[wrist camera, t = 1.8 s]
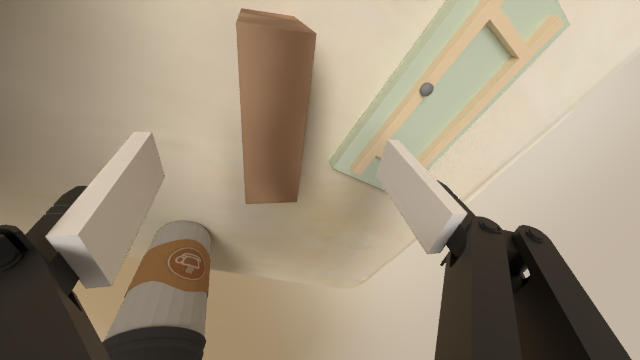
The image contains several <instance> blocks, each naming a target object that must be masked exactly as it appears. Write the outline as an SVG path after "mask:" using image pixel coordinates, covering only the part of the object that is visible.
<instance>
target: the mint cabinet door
mask: <svg viewBox="0 0 640 360" xmlns="http://www.w3.org/2000/svg"><path fill="white" fill-rule="evenodd" d="M569 25H570V23H569V22H568V20H567V18H566V16H565V14H564V12H563V10H562V8H561V6H560V4H559V2H558V0H446V2H445V3H444V4H443V6H442V7H441V9H440V10H439V11H438V13H437V14H436V15H435V17H434V18H433V20H432V21H431V22H430V24H429V25H428V26H427V28H426V29H425V31H424V32H423V33H422V35H421V36H420V37H419V39H418V40H417V42H416V43H415V44H414V46H413V47H412V48H411V50H410V51H409V52H408V54H407V55H406V57H405V58H404V59H403V61H402V62H401V63H400V65H399V66H398V68H397V69H396V70H395V72H394V73H393V74H392V76H391V77H390V79H389V80H388V81H387V83H386V84H385V85H384V87H383V88H382V90H381V91H380V92H379V94H378V95H377V96H376V98H375V99H374V100H373V102H372V103H371V105H370V106H369V107H368V109H367V110H366V111H365V113H364V114H363V116H362V117H361V118H360V120H359V121H358V122H357V124H356V125H355V127H354V128H353V129H352V131H351V132H350V133H349V135H348V136H347V138H346V139H345V140H344V142H343V143H342V144H341V146H340V147H339V149H338V150H337V151H336V153H335V154H334V155H333V157H332V158H331V159H330V164H331V166H332V168H333V169H336V170H338V171H340V172H343V173H345V174H347V175H350V176H352V177H354V178H357V179H359V180H361V181H363V182H366V183H368V184H370V185H373V186H375V187H377V188H380V189H382V190H384V191H386V190H385V188H384V187H383V185H382V184H381V182H380V181H379V179H378V178H377V176H376V173H377V170H378V167H379V164H380V161H381V158H382V155H383V152H384V149H385V146H386V143H387V140H399V141H400V142H401V143H402V144H403V145H404V146H405V148H406V149H407V150H408V151H409V152H410V153H411V154H412V155H413V156H414V157H415V158H416V159H417V160H418V161H419V162H420V163H421V165H422V166H423V167H424V168H425V169H426V170H427V171H428V170H429V169H430V167H431V166H432V165H433V164H434V163H435V162H436V161H437V160H438V159H439V158H440V157H441V156H442V155H443V154H444V153H445V152H446V151H447V150H448V149H449V148H450V147H451V146H452V145H453V144H454V143H455V142H456V141H457V140H458V139H459V138H460V137H461V136H462V135H463V134H464V133H465V132H466V131H467V130H468V129H469V128H470V127H471V126H472V125H473V124H474V123H475V121H476V120H477V119H478V118H479V117H480V116H481V115H482V114H483V113H484V112H485V111H486V110H487V109H488V108H489V107H490V106H491V105H492V104H493V103H494V102H495V101H496V100H497V99H498V98H499V97H500V96H501V95H502V94H503V93H504V92H505V91H506V90H507V89H508V88H509V87H510V86H511V85H512V84H513V83H514V82H515V81H516V80H517V79H518V78H519V77H520V75H521V74H522V73H523V72H524V71H525V70H526V69H527V68H528V67H529V66H530V65H531V64H532V63H533V62H534V61H535V60H536V59H537V58H538V57H539V56H540V55H541V54H542V53H543V52H544V51H545V50H546V49H547V48H548V47H549V46H550V45H551V44H552V43H553V42H554V41H555V40H556V39H557V38H558V37H559V36H560V35H561V34H562V33H563V32H564V31H565V29H566V28H567V27H568V26H569Z"/></svg>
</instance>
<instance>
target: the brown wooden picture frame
mask: <svg viewBox="0 0 640 360" xmlns="http://www.w3.org/2000/svg"><path fill="white" fill-rule="evenodd" d="M236 28H237V47H238V66H239V85H240V104H241V123H242V141H243V160H244V179H245V198H246V204H262V203H284V202H297V197H298V188H299V179H300V171H301V162H302V153H303V145H304V136H305V128H306V119H307V110H308V102H309V93H310V84H311V76H312V67H313V59H314V50H315V41H316V33H315V32H314V31H312V30H311V29H310V28H308V27H307V26H306V25H304V24H303V23H302V22H300V21H299V20H298V19H296V18H295V17H294V16H288V15H281V14H275V13H268V12H262V11H255V10H249V9H242V8H241V11H240V14H239V16H238V19H237V22H236Z"/></svg>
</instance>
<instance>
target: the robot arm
mask: <svg viewBox="0 0 640 360" xmlns="http://www.w3.org/2000/svg"><path fill="white" fill-rule="evenodd" d="M376 176H377V178H378V179H379V181H380V182H381V184H382V185H383V187H384V188H385V190H386V192H387V193H388V195H389V196H390V198H391V199H392V201H393V202H394V204H395V205H396V207H397V209H398V210H399V212H400V213H401V215H402V216H403V218H404V219H405V221H406V223H407V224H408V226H409V227H410V229H411V230H412V232H413V233H414V235H415V236H416V238H417V240H418V241H419V243H420V244H421V246H422V247H423V249H424V250H425V252H426V253H427V254H435V253H440V252H441V251H442V250H443V248H444V247H445V245H447V247H448V248H449V250H450V251H449V253H448V254H447V255H446V257H445V258H444V260H443V261H442V263H441V264H440V265H441V266H443V265H444V263H446V268H445V276H444V284H443V293H442V301H441V309H440V318H439V327H438V335H437V343H436V352H435V360H631V358H630V357H629V355H628V354H627V352H626V351H625V349H624V348H623V346H622V345H621V343H620V342H619V340H618V339H617V337H616V336H615V335H614V333H613V332H612V330H611V329H610V327H609V326H608V324H607V323H606V321H605V320H604V318H603V317H602V315H601V314H600V312H599V311H598V310H597V308H596V306H595V305H594V304H593V302H592V301H591V299H590V298H589V296H588V295H587V293H586V292H585V290H584V289H583V287H582V286H581V284H580V283H579V281H578V280H577V278H576V277H575V275H574V274H573V273H572V271H571V270H570V268H569V267H568V265H567V264H566V262H565V261H564V259H563V258H562V256H561V255H560V254H559V252H558V250H557V249H556V247H555V246H554V245H553V243H552V242H551V240H550V239H549V238H548V237H547V236H546V235H545V234H543V233H542V232H541V231H540V230H538V229H536V228H533V227H530V226H526V225H522V226H519V227H518V228H517V229H516V230H515V232H511V231H506V230H502V229H501V228H500V226H499V225H498V224H496V223H495V222H493V221H492V220H490V219H487V218H484V217H476V216H475V215H474V214H473V213H472V212H471V211H470V210H469V209H468V208H467V206H466V205H465V204H464V203H463V202H462V201H461V200H460V199H458V197H457V196H456V195H455V194H453V192H452V191H451V190H450V189H449V188H448V187H447V186H446V185H444V184H443V183H441V182H440V181H438V180H436V179H435V178H434V177H433V176H432V175H431V174H430V173H429V172H428V171H427V170H426V169H425V168H424V167H423V166H422V165H421V163H420V162H419V161H418V160H417V159H416V158H415V157H414V156H413V155H412V154H411V153H410V152H409V151H408V150H407V149H406V148H405V146H404V145H403V144H402V143H401V142H400V141H399V140H387V143H386V146H385V149H384V152H383V155H382V158H381V161H380V164H379V167H378V170H377V173H376ZM164 177H165V175H164V172H163V168H162V165H161V162H160V158H159V155H158V151H157V148H156V144H155V141H154V137H153V134H152V132H133V134H132V135H131V136H130V137H129V138H128V140H127V141H126V142H125V143H124V144H123V145H122V147H121V148H120V149H119V150H118V151H117V153H116V154H115V155H114V156H113V157H112V158H111V160H110V161H109V162H108V163H107V164H106V165H105V167H104V168H103V169H102V170H101V171H100V173H99V174H98V175H97V176H96V177H95V178H94V180H93V181H92V182H91V183H90V184H89V185H88V186H77V187H75V188H73V189H72V190H70V191H68V192H67V193H65V194H63V195H62V196H61V197H60V198H59V199H58V201H57V202H56V203H55V204H54V207H51V208H50V209H49V210H48V211H47V212H46V215H44V216H43V217H42V218H41V219H40V220H39V221H38V222H37V223H36V224H35V225H34V226H33V227H32V228H31V229H30V230H29V232H28V233H27V234H26V235H24V234H23V232H22V231H21V230H20V229H18V228H17V227H16V226H10V225H1V226H0V360H111V359H110V357H109V355H108V353H107V351H106V350H105V348H104V346H103V344H102V342H101V340H100V338H99V337H98V335H97V333H96V331H95V329H94V327H93V325H92V324H91V322H90V320H89V318H88V316H87V315H86V313H85V311H84V309H83V307H82V305H81V303H80V302H79V300H78V298H77V296H76V294H75V293H74V292H73V291H72V290H73V288H74V286H75V285H76V283H77V281H78V280H80V282H81V283H82V284H83V285H84V287H85V288H86V289H87V288H96V287H106V286H112V284H113V282H114V280H115V278H116V276H117V274H118V272H119V270H120V268H121V266H122V264H123V262H124V259H125V258H126V256H127V253H128V251H129V249H130V247H131V245H132V243H133V241H134V239H135V237H136V235H137V233H138V231H139V229H140V227H141V225H142V222H143V220H144V218H145V216H146V214H147V212H148V210H149V208H150V206H151V204H152V202H153V200H154V198H155V196H156V194H157V191H158V189H159V187H160V185H161V183H162V181H163V179H164ZM526 269H528V270H529V272H530V276H529V277H527V278H525V276H524V274H523V272H524V271H525V270H526Z"/></svg>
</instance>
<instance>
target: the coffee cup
mask: <svg viewBox="0 0 640 360" xmlns="http://www.w3.org/2000/svg"><path fill="white" fill-rule="evenodd" d="M210 248H211V238H210V235H209V233H208V231H207V230H206V229H205V228H204V227H203V226H201V225H199V224H197V223H194V222H190V221H176V222H171V223H169V224H167V225H165V226H164V227H162V228H161V229H160V230H159V231H157V233H156V235H155V237H154V239H153V241H152V243H151V245H150V247H149V249H148V251H147V252H146V254H145V256H144V257H143V259H142V262H141V264H140V266H139V268H138V270H137V272H136V274H135V276H134V278H133V280H132V282H131V284H130V286H129V288H128V290H127V292H126V295H125V297H124V298H125V299H124V301H123V303H122V305H121V307H120V309H119V311H118V313H117V315H116V317H115V319H114V322H113V324H112V326H111V328H110V330H109V332H108V334H107V336H106V338H105V340H104V341H103V342H102V344H103V346H104V348H105V350H106V351H107V353H108V355H109V357H110V359H111V360H202V357H203V349H204V346H205V344H206V340H205V337H204V334H205V319H206V305H207V297H208V286H209V272H210Z"/></svg>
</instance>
